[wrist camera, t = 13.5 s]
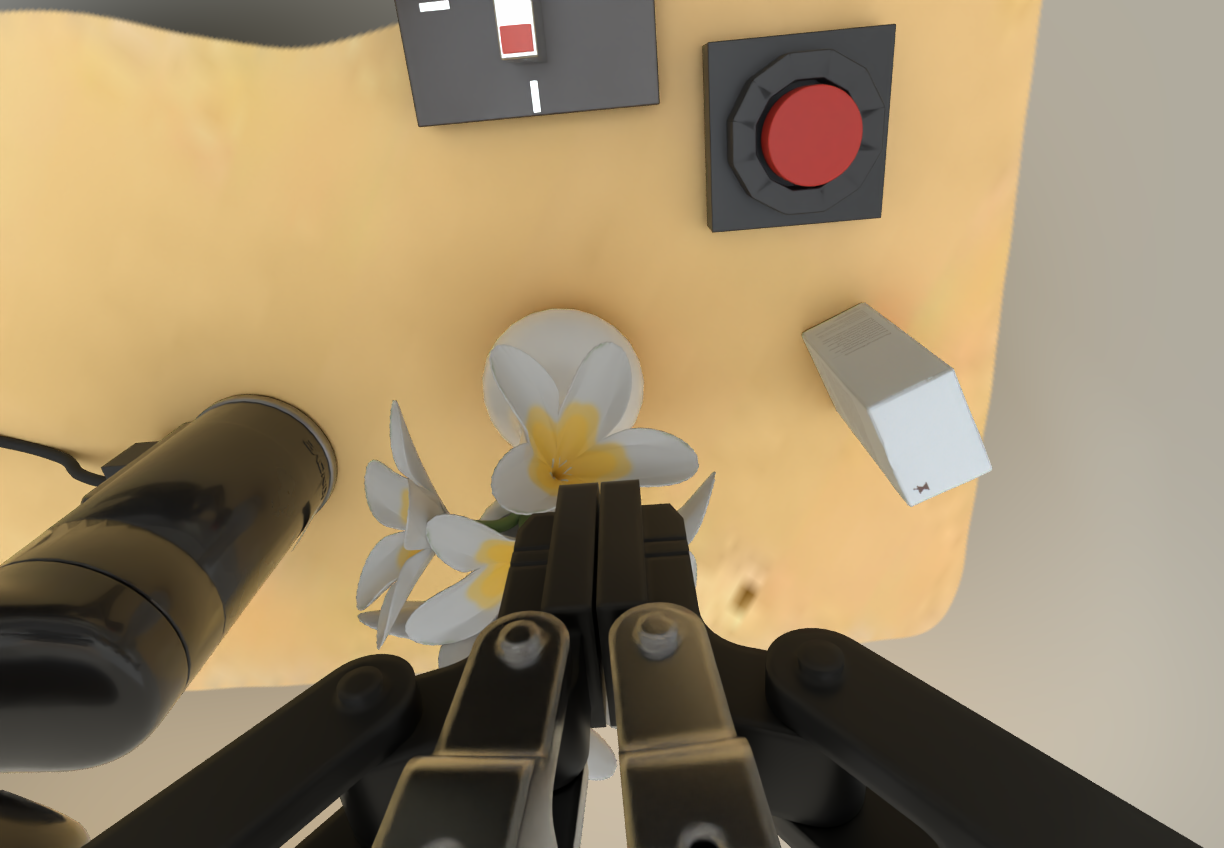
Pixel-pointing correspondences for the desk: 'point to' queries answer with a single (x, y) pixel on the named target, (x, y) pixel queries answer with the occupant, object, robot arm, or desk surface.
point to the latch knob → (520, 31)
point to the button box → (744, 94)
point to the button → (812, 134)
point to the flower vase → (518, 480)
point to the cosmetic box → (898, 403)
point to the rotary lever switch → (495, 89)
